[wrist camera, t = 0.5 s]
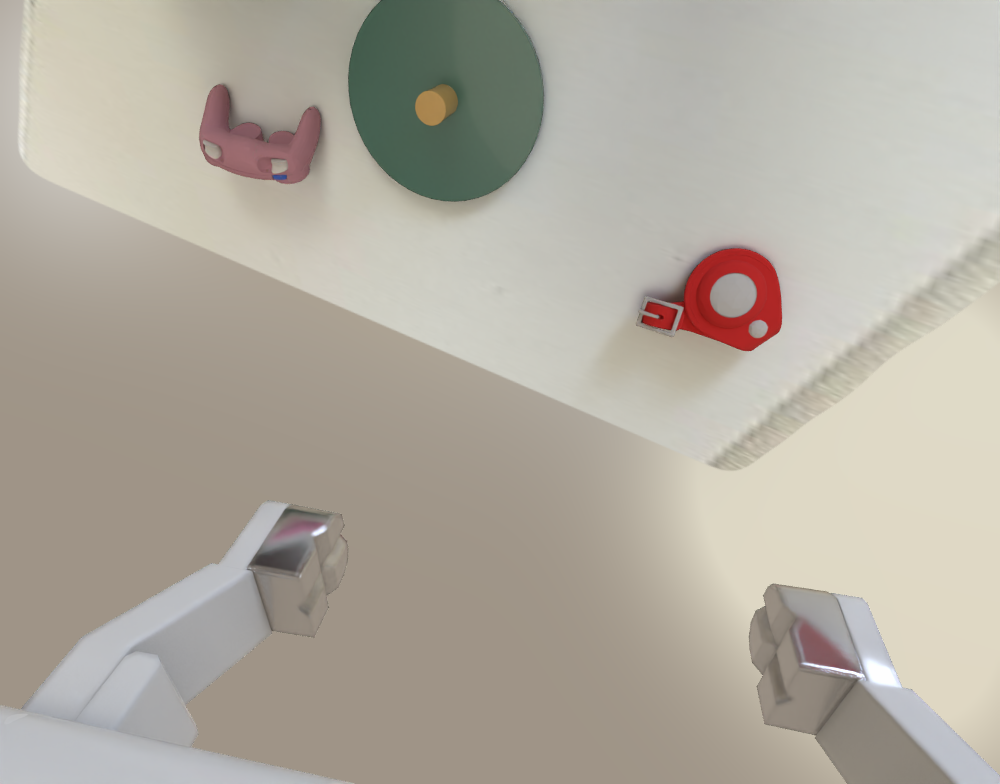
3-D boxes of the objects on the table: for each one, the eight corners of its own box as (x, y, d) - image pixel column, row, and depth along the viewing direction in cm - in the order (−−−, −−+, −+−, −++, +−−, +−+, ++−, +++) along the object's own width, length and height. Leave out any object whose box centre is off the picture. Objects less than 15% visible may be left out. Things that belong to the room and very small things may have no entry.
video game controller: (230, 123, 53) (194, 174, 50) (213, 76, 49) (172, 129, 46) (332, 147, 53) (302, 201, 50) (323, 103, 49) (290, 158, 46)
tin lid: (345, -31, 44) (315, -33, 40) (556, -13, 42) (549, -14, 38) (360, 186, 53) (338, 203, 49) (534, 208, 51) (526, 227, 47)
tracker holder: (746, 223, 48) (815, 317, 49) (734, 225, 52) (797, 311, 53) (627, 314, 51) (693, 400, 52) (624, 308, 56) (686, 388, 57)
